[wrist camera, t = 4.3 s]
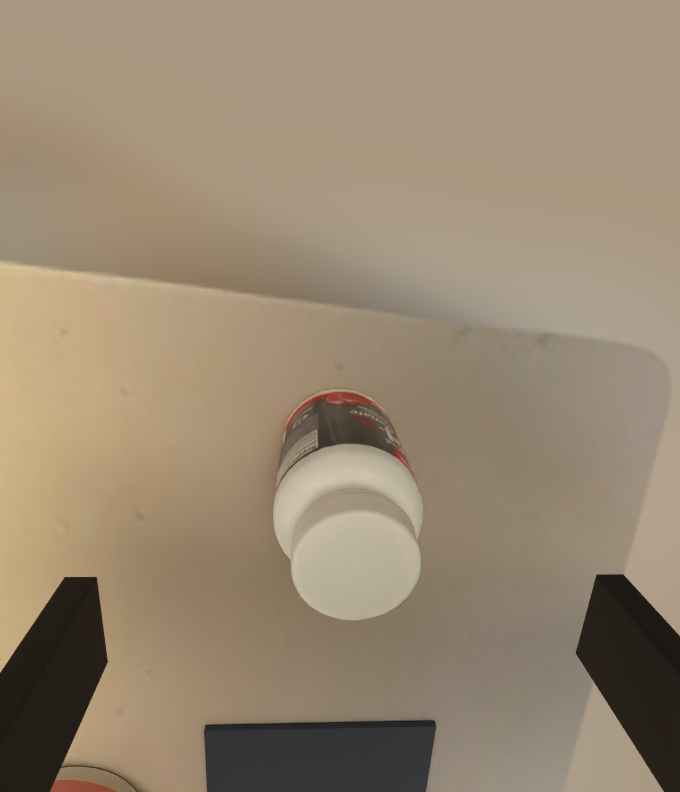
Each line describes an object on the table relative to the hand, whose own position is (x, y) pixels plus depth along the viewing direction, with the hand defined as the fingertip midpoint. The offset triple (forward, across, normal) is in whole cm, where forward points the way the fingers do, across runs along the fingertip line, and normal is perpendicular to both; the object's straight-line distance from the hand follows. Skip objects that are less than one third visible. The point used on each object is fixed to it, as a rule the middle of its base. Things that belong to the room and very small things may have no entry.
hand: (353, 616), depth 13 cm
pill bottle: (+12, 0, 0) cm, 12 cm away
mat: (+12, 0, -26) cm, 28 cm away
